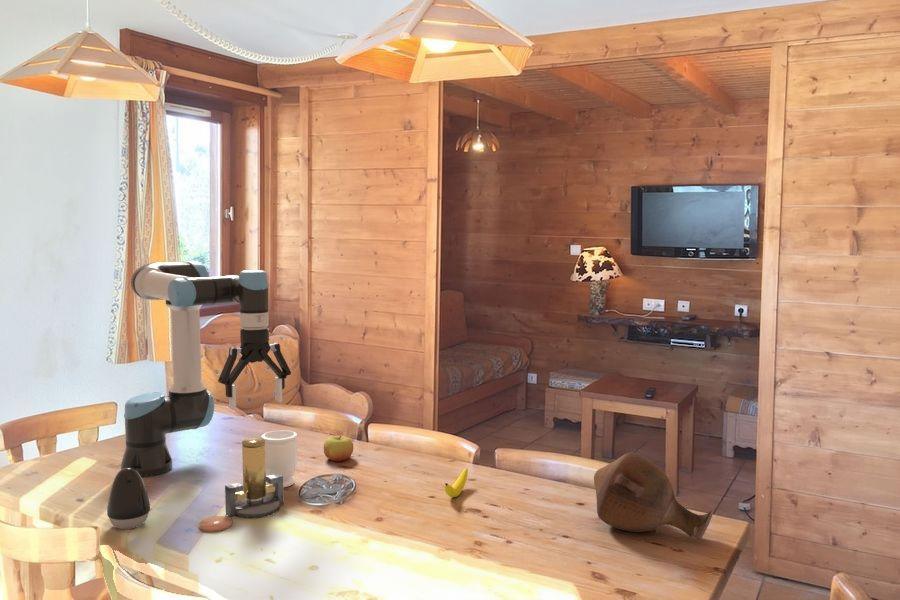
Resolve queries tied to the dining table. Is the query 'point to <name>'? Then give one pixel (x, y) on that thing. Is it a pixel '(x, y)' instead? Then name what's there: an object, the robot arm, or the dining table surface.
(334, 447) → the apple
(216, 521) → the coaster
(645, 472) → the jug
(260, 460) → the amber glass cylinder
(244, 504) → the grey two-tab base
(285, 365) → the robot arm
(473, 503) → the dining table surface
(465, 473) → the banana
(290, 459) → the jar
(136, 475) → the black and white egg
